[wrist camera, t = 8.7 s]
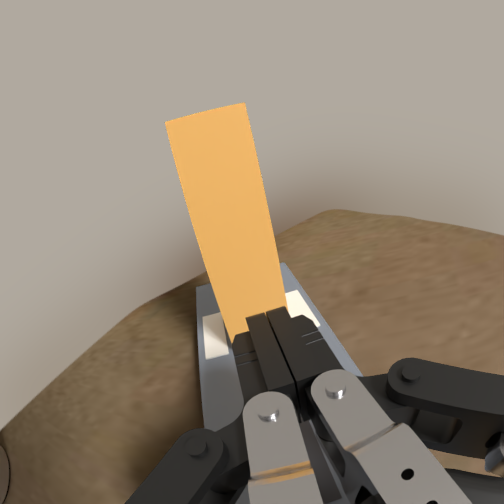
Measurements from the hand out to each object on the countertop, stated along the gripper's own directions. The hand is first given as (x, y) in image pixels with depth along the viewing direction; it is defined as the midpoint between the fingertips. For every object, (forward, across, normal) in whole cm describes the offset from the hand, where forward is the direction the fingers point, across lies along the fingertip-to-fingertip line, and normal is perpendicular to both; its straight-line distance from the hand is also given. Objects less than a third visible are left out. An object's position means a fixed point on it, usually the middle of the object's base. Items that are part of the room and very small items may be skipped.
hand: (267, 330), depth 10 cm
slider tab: (+8, 0, +6) cm, 10 cm away
